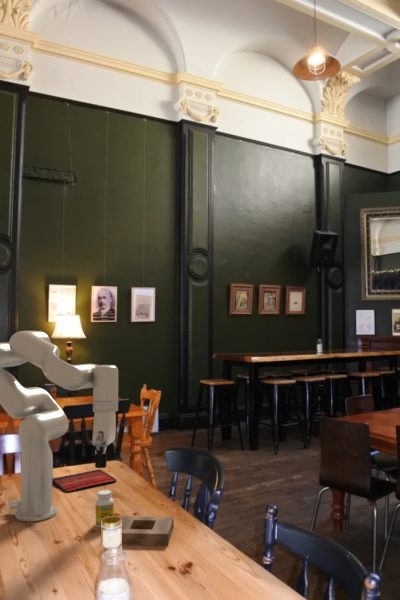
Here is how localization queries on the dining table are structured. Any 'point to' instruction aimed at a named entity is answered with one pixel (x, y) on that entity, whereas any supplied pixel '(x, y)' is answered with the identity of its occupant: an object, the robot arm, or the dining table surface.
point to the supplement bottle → (104, 506)
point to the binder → (83, 481)
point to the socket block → (146, 530)
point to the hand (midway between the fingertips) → (105, 463)
